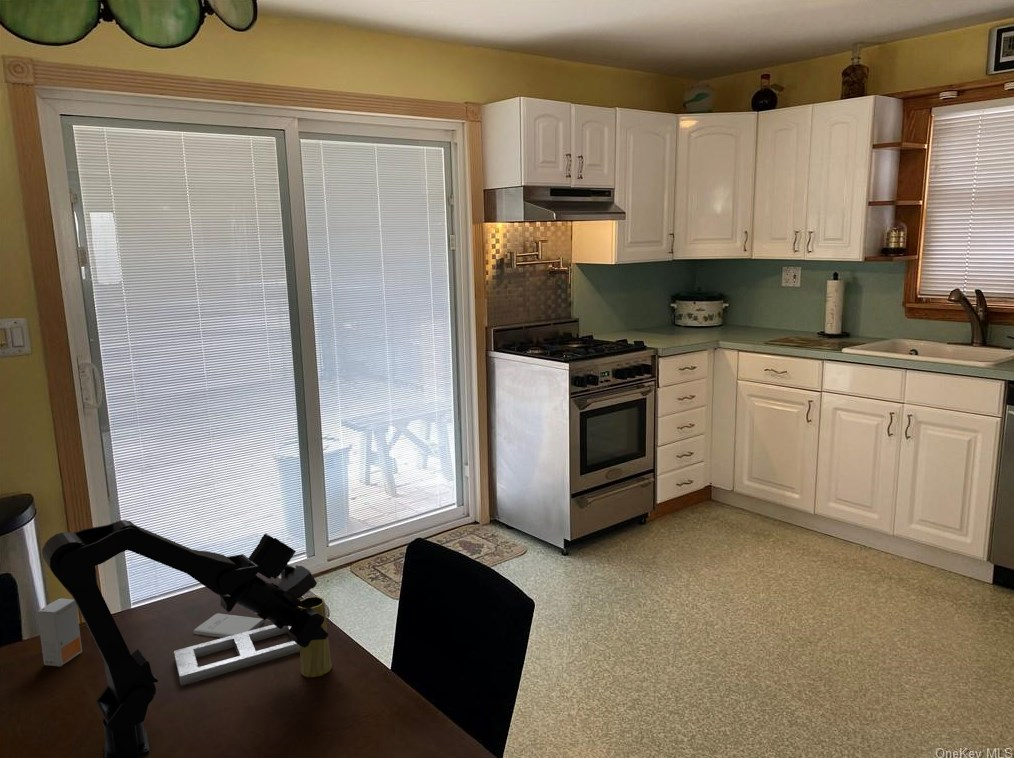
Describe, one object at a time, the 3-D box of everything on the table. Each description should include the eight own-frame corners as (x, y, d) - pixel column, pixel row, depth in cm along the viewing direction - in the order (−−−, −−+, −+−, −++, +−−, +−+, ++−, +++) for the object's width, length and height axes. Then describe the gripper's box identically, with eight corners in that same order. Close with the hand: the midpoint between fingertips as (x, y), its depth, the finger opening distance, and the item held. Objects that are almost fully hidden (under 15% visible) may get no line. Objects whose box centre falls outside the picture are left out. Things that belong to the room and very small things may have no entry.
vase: (293, 673, 145) (287, 606, 143) (315, 658, 150) (309, 592, 148) (317, 681, 142) (311, 612, 140) (338, 665, 147) (333, 598, 145)
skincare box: (61, 667, 150) (53, 612, 148) (43, 665, 151) (35, 611, 149) (83, 651, 156) (76, 598, 154) (66, 650, 157) (59, 597, 155)
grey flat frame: (314, 647, 154) (314, 638, 154) (180, 686, 142) (179, 676, 142) (301, 625, 164) (300, 617, 164) (174, 659, 151) (173, 650, 151)
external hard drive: (242, 643, 158) (193, 636, 162) (264, 624, 166) (218, 618, 170) (241, 636, 158) (193, 629, 162) (264, 618, 166) (217, 612, 169)
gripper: (310, 574, 133) (367, 610, 142) (266, 546, 146) (321, 580, 156) (272, 630, 129) (333, 664, 138) (231, 596, 143) (289, 628, 152)
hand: (319, 631), depth 146 cm, fingers closed on vase, 5 cm apart
